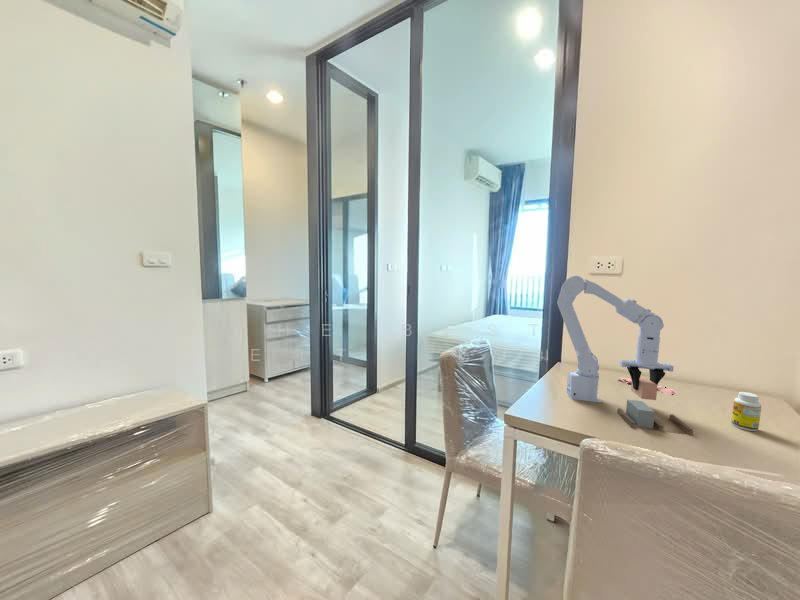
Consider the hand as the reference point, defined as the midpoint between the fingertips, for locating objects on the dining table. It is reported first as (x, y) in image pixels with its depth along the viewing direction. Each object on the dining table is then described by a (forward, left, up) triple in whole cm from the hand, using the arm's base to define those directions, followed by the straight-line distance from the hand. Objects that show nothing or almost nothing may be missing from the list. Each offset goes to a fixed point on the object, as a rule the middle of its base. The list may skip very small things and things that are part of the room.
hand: (643, 390), depth 108 cm
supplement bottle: (+24, -6, -7) cm, 26 cm away
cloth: (+10, +26, -7) cm, 29 cm away
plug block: (0, 0, -2) cm, 2 cm away
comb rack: (-2, -13, -6) cm, 15 cm away
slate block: (-6, -13, -6) cm, 15 cm away
